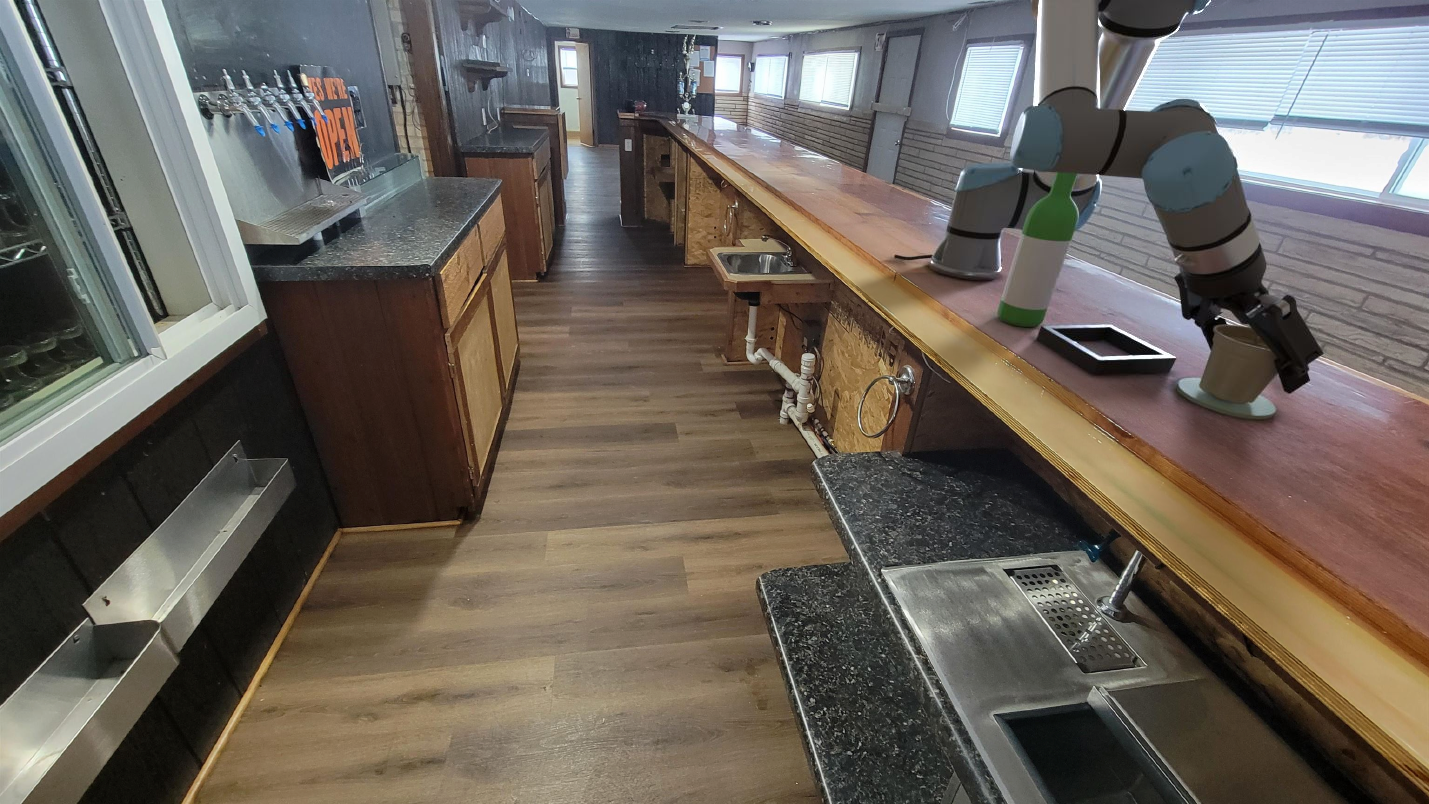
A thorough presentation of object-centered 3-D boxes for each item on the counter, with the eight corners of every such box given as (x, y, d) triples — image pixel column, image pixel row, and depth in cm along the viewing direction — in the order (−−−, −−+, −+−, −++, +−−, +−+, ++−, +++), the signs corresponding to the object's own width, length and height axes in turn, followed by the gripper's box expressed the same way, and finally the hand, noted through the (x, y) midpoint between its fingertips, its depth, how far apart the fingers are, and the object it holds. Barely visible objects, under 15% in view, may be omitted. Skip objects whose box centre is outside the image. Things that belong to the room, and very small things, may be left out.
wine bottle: (994, 323, 102) (1050, 142, 87) (996, 310, 108) (1048, 139, 93) (1042, 332, 99) (1108, 146, 84) (1041, 318, 105) (1102, 143, 90)
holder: (1093, 375, 85) (1099, 360, 83) (1036, 339, 96) (1040, 325, 95) (1169, 372, 87) (1177, 357, 85) (1105, 337, 98) (1110, 324, 97)
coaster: (1174, 400, 79) (1176, 396, 78) (1177, 374, 86) (1179, 370, 86) (1276, 428, 73) (1279, 424, 73) (1271, 397, 81) (1273, 394, 80)
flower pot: (1237, 381, 83) (1268, 326, 79) (1287, 413, 75) (1325, 354, 71) (1170, 376, 84) (1198, 321, 79) (1213, 407, 75) (1246, 348, 71)
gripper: (1118, 251, 78) (1166, 353, 88) (1280, 308, 59) (1317, 428, 69) (1168, 212, 76) (1212, 320, 86) (1351, 257, 57) (1379, 389, 67)
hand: (1258, 368), depth 78 cm, fingers closed on flower pot, 9 cm apart
